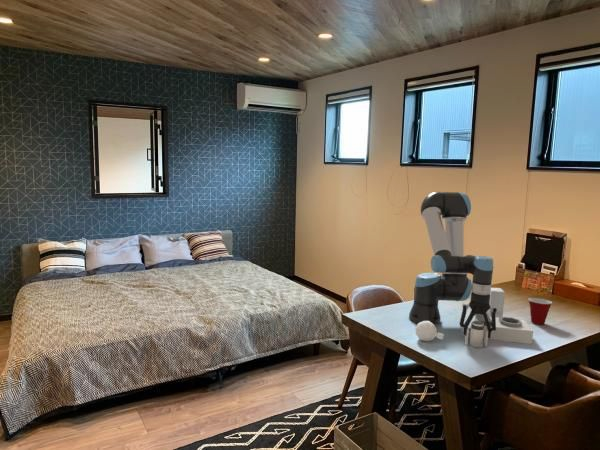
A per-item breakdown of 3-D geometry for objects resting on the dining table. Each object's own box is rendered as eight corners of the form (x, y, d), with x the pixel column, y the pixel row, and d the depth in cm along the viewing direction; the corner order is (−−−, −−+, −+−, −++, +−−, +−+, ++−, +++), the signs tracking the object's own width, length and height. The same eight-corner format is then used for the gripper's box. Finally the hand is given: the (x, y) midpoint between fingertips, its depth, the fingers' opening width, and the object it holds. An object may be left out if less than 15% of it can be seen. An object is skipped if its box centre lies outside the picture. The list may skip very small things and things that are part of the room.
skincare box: (502, 322, 225) (505, 292, 223) (488, 321, 227) (491, 291, 224) (498, 316, 233) (501, 287, 231) (485, 315, 235) (488, 286, 232)
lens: (470, 346, 193) (472, 324, 192) (468, 342, 198) (470, 320, 197) (482, 348, 192) (485, 325, 191) (480, 343, 197) (482, 321, 196)
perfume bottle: (411, 338, 195) (440, 347, 190) (417, 317, 196) (445, 326, 191) (414, 337, 203) (441, 346, 198) (419, 317, 204) (446, 325, 199)
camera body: (479, 338, 203) (480, 321, 202) (474, 327, 217) (475, 311, 216) (531, 344, 199) (533, 326, 198) (523, 332, 212) (525, 316, 211)
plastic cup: (546, 320, 230) (549, 298, 229) (552, 328, 220) (555, 304, 218) (523, 317, 233) (526, 295, 232) (527, 325, 223) (530, 301, 221)
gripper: (457, 292, 190) (452, 344, 194) (508, 297, 186) (502, 350, 189) (455, 288, 198) (450, 337, 201) (503, 292, 193) (498, 343, 197)
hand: (475, 343), depth 195 cm, fingers open, 7 cm apart
